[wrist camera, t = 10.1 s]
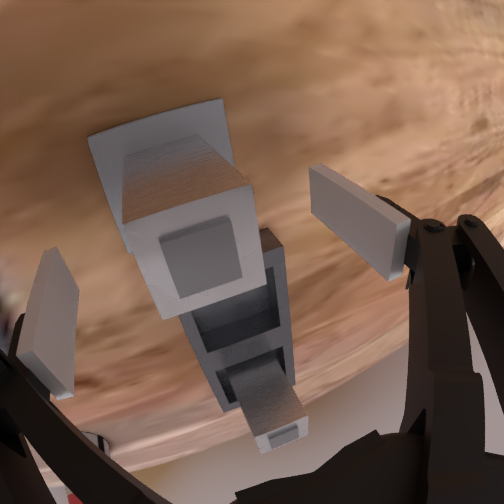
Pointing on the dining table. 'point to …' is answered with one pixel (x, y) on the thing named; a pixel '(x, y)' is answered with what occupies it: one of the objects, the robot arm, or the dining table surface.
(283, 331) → the rail
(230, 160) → the mat
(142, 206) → the grey square peg
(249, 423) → the silver square post
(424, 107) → the dining table surface
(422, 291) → the robot arm
